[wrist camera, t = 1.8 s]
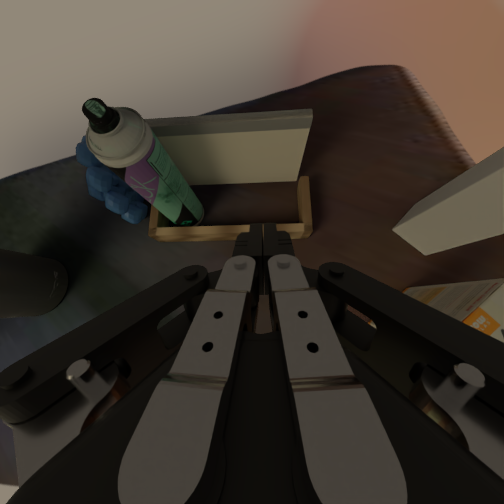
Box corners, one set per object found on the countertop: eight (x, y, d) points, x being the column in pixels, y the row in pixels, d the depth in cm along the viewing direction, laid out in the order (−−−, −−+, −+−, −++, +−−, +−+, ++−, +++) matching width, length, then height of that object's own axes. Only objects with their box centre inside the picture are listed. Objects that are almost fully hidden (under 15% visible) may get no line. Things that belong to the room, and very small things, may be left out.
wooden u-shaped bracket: (159, 241, 34) (148, 235, 31) (164, 193, 36) (153, 182, 33) (307, 238, 33) (312, 231, 29) (304, 188, 35) (308, 176, 31)
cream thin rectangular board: (170, 188, 35) (120, 128, 23) (171, 180, 36) (122, 118, 23) (295, 183, 34) (312, 117, 22) (295, 175, 34) (311, 106, 22)
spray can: (176, 197, 36) (69, 76, 16) (206, 200, 35) (135, 78, 16) (169, 227, 35) (47, 135, 15) (201, 230, 34) (116, 139, 15)
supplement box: (391, 351, 28) (493, 393, 16) (365, 322, 30) (441, 339, 17) (434, 313, 29) (564, 323, 16) (407, 285, 30) (510, 275, 18)
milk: (390, 230, 32) (633, 91, 11) (414, 203, 33) (687, 24, 12) (425, 256, 31) (777, 158, 10) (449, 228, 32) (829, 78, 10)
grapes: (110, 183, 37) (39, 130, 26) (145, 169, 38) (91, 110, 26) (124, 240, 35) (53, 210, 23) (162, 225, 35) (111, 188, 23)
